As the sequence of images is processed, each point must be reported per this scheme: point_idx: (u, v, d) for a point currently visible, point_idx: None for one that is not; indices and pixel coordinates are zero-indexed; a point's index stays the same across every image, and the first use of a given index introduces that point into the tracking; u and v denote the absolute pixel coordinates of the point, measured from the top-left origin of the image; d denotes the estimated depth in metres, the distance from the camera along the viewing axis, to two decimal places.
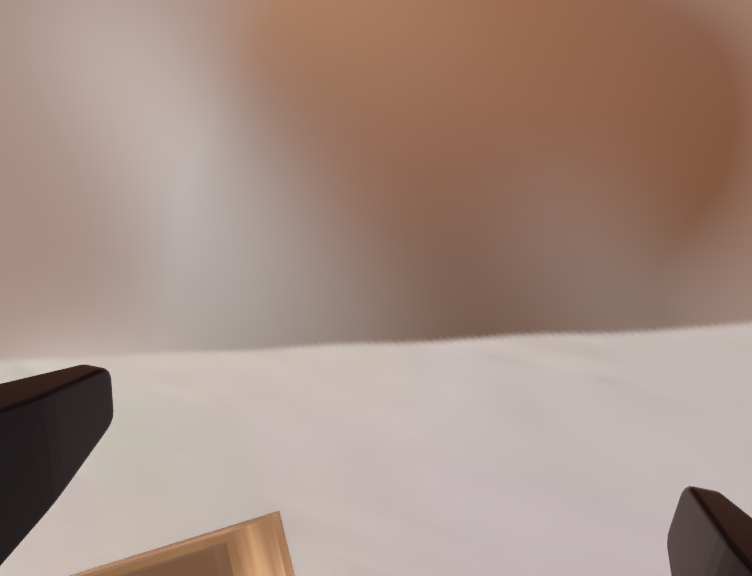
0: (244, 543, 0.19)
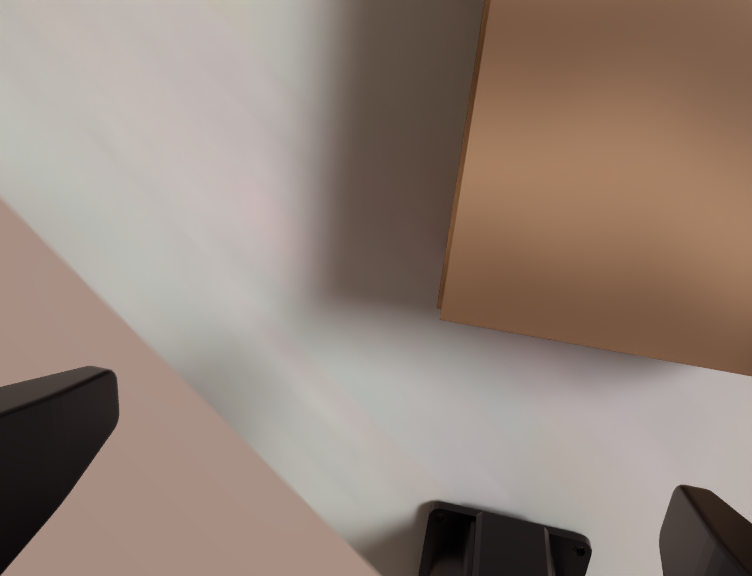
0: None
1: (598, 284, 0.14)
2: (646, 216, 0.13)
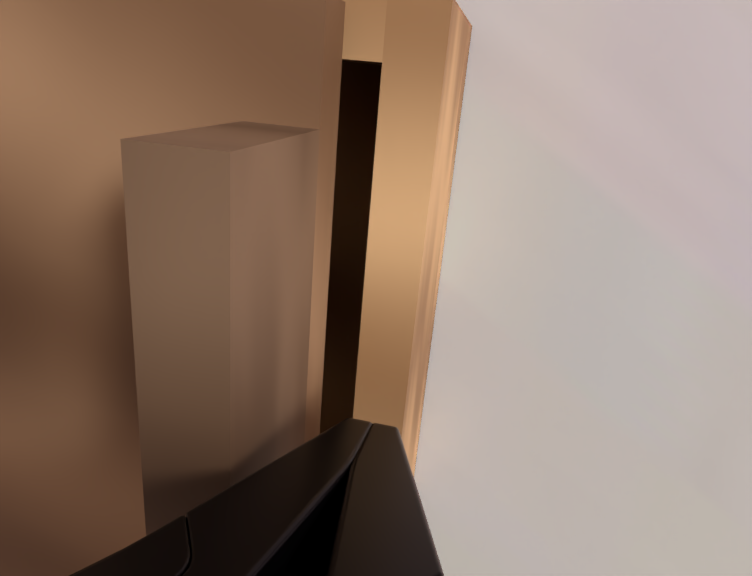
0: (453, 32, 0.10)
1: None
2: None
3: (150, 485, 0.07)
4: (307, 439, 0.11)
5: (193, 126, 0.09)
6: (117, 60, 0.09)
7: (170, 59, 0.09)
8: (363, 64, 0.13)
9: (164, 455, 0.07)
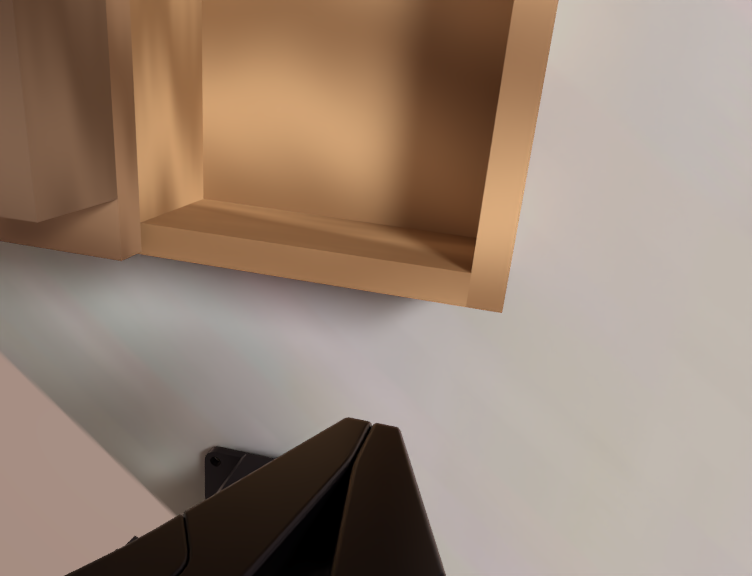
0: None
1: None
2: None
3: None
4: (114, 62, 0.15)
5: None
6: None
7: None
8: None
9: None
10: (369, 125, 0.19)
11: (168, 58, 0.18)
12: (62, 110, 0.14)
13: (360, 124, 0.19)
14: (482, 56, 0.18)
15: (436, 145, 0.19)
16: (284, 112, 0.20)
